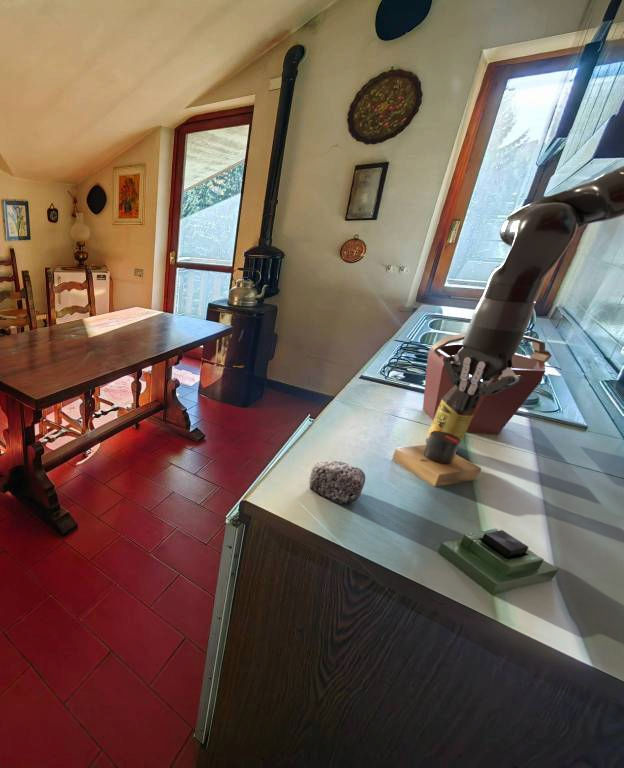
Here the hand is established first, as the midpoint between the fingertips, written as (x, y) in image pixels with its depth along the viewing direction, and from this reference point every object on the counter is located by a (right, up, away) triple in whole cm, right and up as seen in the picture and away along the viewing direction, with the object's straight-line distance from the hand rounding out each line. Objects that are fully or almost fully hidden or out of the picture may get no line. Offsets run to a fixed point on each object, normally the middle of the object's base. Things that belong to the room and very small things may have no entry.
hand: (463, 409), depth 77 cm
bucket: (+27, -5, +30) cm, 40 cm away
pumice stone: (-25, -17, 0) cm, 30 cm away
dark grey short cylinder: (0, -11, +7) cm, 13 cm away
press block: (-10, -24, -16) cm, 30 cm away
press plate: (-10, -20, -18) cm, 28 cm away
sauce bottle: (+10, -10, +17) cm, 22 cm away
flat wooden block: (0, -14, +8) cm, 16 cm away
